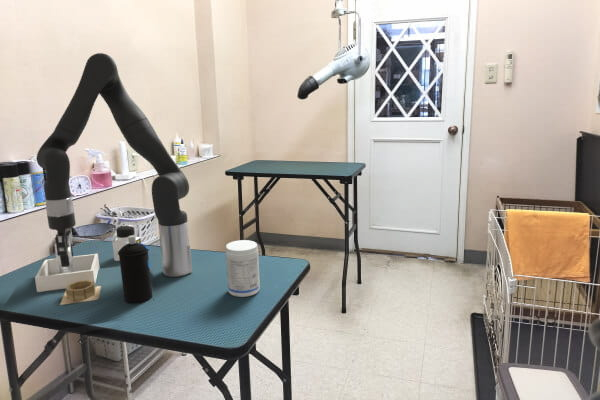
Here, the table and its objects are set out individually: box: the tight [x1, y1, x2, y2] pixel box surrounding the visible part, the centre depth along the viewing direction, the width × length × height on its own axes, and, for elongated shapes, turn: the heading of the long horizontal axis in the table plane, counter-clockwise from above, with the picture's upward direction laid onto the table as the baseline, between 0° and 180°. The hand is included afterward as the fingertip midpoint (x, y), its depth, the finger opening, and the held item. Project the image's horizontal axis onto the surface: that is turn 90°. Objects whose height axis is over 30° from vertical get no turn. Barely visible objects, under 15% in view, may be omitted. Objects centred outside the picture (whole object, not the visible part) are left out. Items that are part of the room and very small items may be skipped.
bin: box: [34, 253, 101, 293], centre depth 152 cm, size 16×16×6 cm
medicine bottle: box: [111, 224, 142, 262], centre depth 172 cm, size 7×7×12 cm
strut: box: [54, 242, 74, 274], centre depth 151 cm, size 5×5×14 cm
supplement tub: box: [225, 239, 261, 298], centre depth 142 cm, size 10×10×15 cm
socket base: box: [59, 280, 102, 306], centre depth 140 cm, size 10×10×4 cm
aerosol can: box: [118, 235, 155, 305], centre depth 135 cm, size 8×8×20 cm
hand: (67, 261), depth 151 cm, fingers open, 8 cm apart
